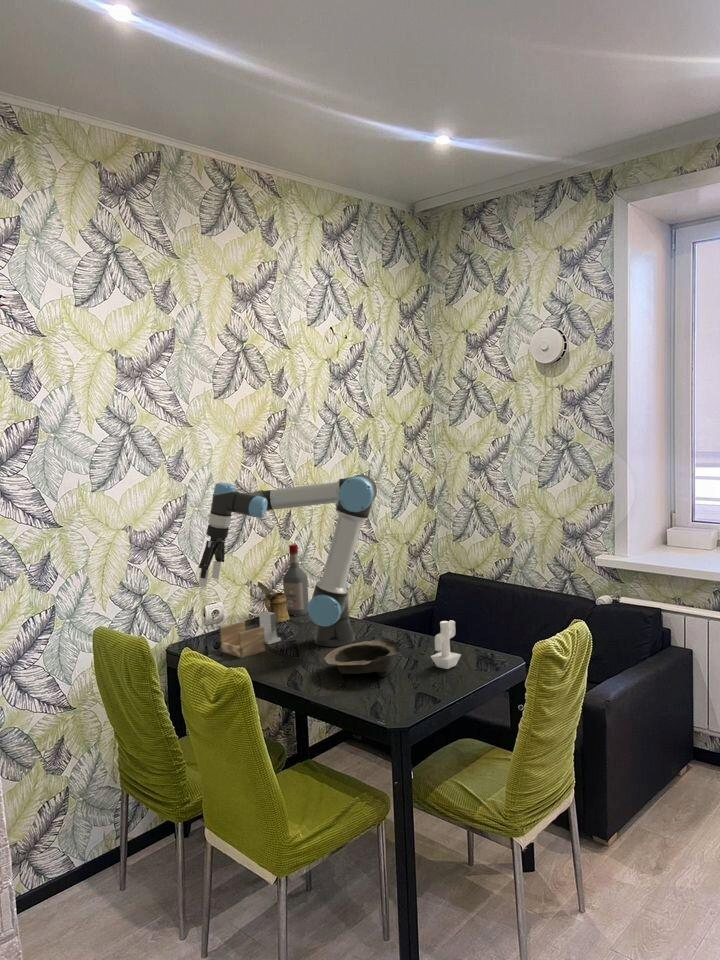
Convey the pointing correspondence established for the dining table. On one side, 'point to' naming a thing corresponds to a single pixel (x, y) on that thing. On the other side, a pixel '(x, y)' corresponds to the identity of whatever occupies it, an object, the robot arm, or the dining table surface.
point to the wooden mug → (275, 604)
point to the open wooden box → (242, 640)
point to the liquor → (295, 585)
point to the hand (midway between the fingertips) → (208, 582)
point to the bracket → (269, 626)
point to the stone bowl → (365, 657)
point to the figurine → (445, 646)
